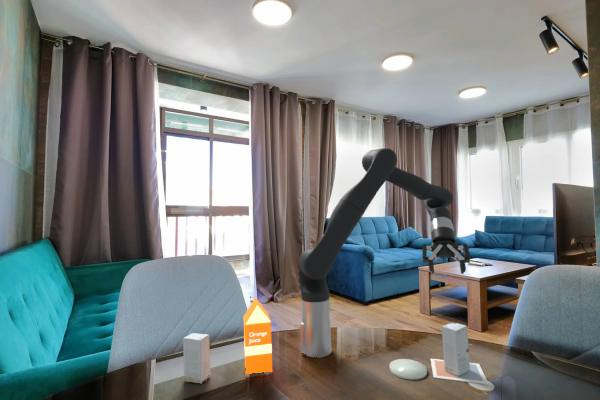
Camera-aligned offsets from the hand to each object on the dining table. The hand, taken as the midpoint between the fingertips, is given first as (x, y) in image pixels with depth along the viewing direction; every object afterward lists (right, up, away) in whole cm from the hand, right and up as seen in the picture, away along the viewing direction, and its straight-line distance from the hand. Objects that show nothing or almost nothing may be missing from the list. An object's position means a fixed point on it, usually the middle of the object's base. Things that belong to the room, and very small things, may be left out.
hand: (447, 272), depth 98 cm
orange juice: (-59, -27, -7) cm, 66 cm away
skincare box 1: (-76, -28, -12) cm, 81 cm away
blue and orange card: (-3, -25, -12) cm, 28 cm away
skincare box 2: (-3, -25, -12) cm, 28 cm away
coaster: (-16, -25, -11) cm, 32 cm away
